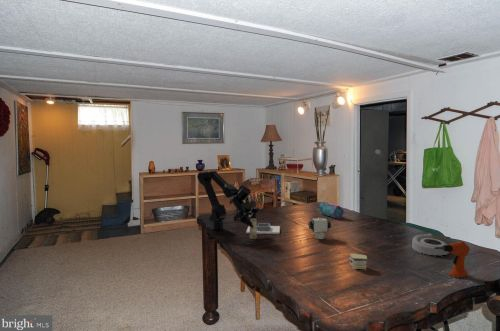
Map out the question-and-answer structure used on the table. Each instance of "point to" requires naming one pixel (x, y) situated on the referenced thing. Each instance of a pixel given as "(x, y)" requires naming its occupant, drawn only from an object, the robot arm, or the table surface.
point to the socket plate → (265, 229)
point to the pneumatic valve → (319, 227)
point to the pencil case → (331, 210)
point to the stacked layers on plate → (358, 261)
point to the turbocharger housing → (428, 245)
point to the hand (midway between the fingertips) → (255, 226)
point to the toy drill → (457, 257)
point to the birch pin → (253, 229)
